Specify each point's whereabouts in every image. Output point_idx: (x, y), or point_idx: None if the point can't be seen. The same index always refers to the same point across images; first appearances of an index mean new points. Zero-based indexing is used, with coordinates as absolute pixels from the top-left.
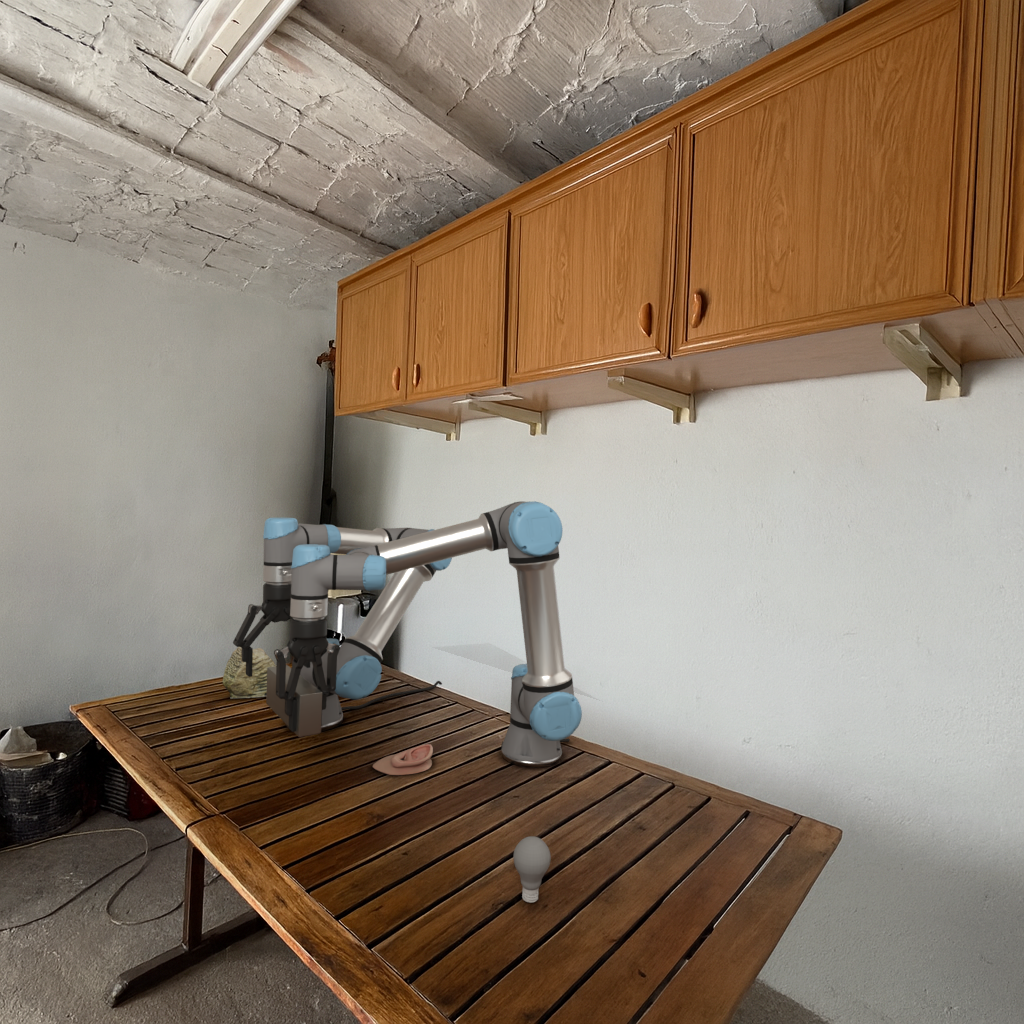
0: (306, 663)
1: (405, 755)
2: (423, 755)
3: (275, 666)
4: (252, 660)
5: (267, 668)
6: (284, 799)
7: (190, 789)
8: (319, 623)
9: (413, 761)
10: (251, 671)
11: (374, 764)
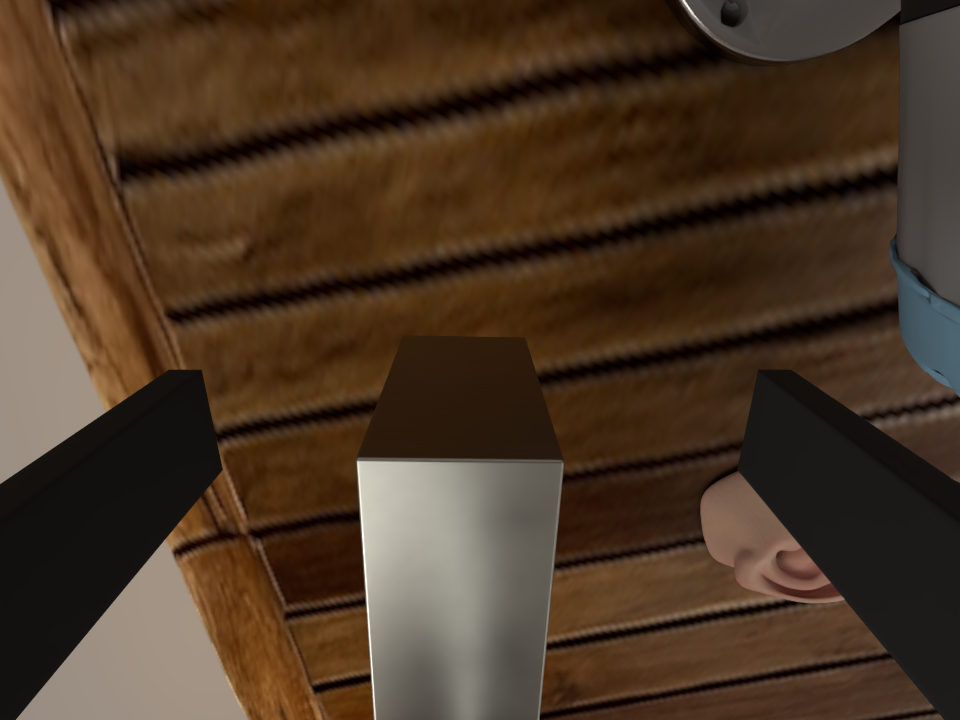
0: (761, 472)
1: None
2: None
3: (438, 470)
4: (128, 582)
5: (357, 459)
6: None
7: (174, 364)
8: None
9: (792, 588)
10: (190, 496)
11: (712, 498)
